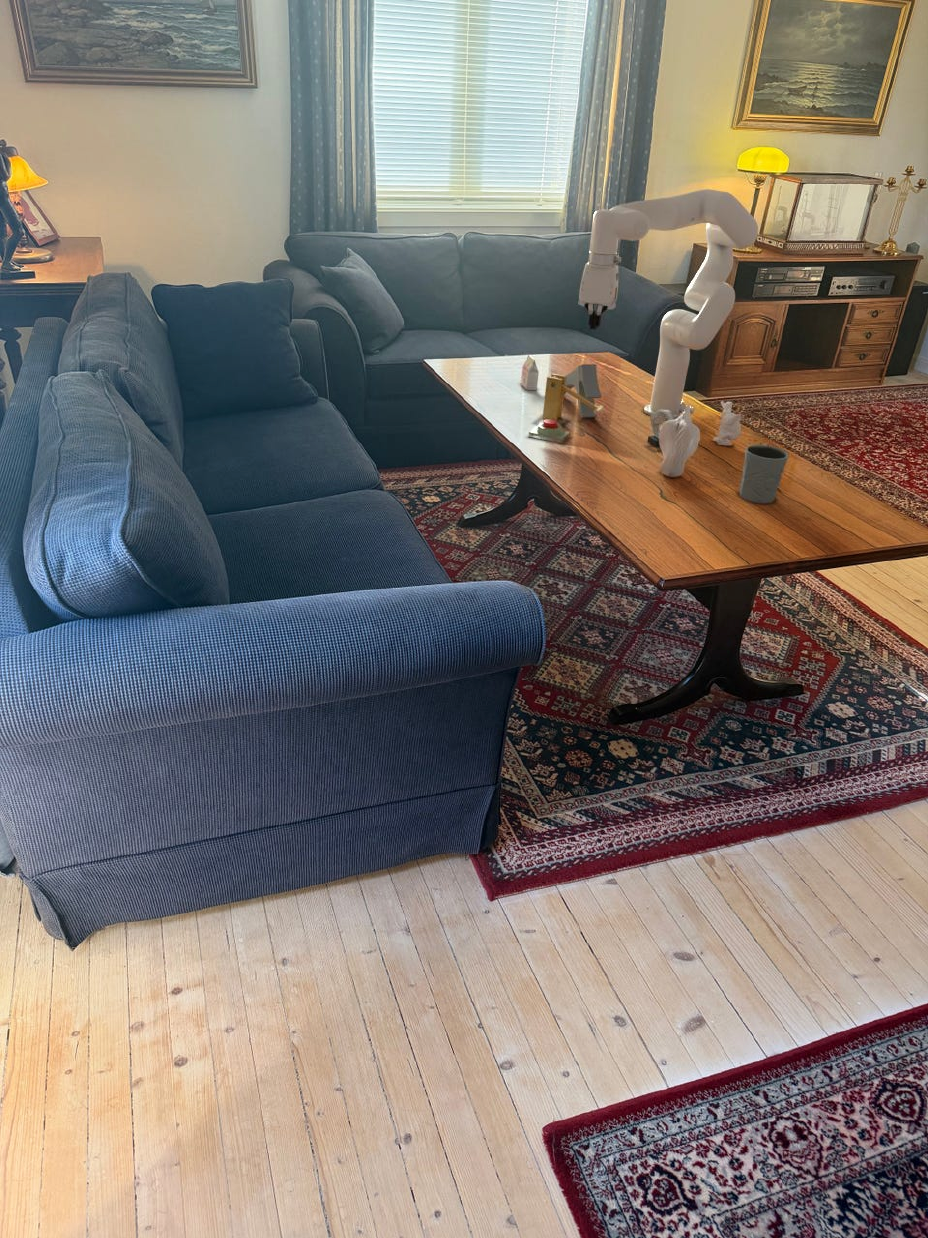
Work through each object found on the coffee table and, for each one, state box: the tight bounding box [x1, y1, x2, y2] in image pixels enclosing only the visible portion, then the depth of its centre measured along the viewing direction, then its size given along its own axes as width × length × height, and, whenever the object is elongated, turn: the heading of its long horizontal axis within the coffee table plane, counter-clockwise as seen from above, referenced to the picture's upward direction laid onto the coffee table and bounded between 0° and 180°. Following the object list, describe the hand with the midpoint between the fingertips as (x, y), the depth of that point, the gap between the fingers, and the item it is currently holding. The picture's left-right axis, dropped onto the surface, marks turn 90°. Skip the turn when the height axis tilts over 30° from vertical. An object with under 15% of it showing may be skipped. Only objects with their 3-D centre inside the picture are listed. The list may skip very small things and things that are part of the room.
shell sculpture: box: [659, 404, 701, 478], centre depth 216 cm, size 8×8×18 cm
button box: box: [528, 422, 571, 445], centre depth 240 cm, size 10×7×4 cm
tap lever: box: [553, 376, 604, 415], centre depth 246 cm, size 17×6×2 cm, turn 65°
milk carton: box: [520, 354, 540, 391], centre depth 282 cm, size 4×7×10 cm, turn 13°
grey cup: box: [739, 444, 789, 505], centre depth 209 cm, size 10×10×12 cm
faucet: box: [564, 363, 602, 420], centre depth 263 cm, size 6×17×30 cm
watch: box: [646, 409, 675, 448], centre depth 236 cm, size 6×8×11 cm
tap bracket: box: [542, 373, 566, 422], centre depth 250 cm, size 8×9×14 cm
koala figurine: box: [712, 400, 742, 446], centre depth 242 cm, size 8×7×12 cm
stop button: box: [542, 419, 559, 429], centre depth 239 cm, size 4×4×2 cm
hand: (593, 328), depth 240 cm, fingers closed
